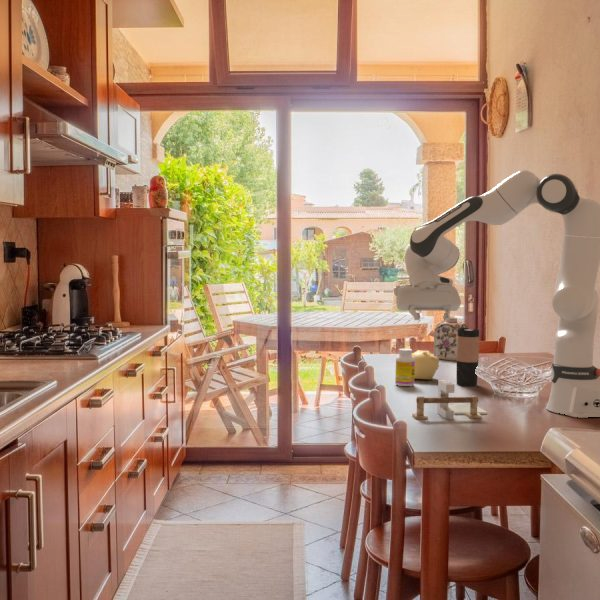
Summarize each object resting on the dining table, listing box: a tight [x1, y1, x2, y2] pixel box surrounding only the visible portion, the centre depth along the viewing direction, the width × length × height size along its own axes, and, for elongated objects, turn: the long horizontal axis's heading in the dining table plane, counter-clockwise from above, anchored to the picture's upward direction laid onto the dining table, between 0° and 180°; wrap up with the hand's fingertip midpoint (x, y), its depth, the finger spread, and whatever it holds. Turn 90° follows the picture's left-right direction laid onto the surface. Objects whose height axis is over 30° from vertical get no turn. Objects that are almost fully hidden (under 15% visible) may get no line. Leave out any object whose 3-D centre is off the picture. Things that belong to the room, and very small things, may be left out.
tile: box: [448, 404, 488, 416], centre depth 220 cm, size 10×10×1 cm
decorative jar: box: [433, 316, 468, 362], centre depth 321 cm, size 12×12×18 cm
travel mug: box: [456, 327, 480, 387], centre depth 260 cm, size 8×8×20 cm
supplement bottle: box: [394, 348, 415, 387], centre depth 258 cm, size 7×7×13 cm
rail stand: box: [411, 395, 483, 420], centre depth 211 cm, size 20×4×6 cm, turn 97°
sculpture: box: [412, 349, 440, 381], centre depth 271 cm, size 12×12×11 cm
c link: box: [437, 379, 456, 420], centre depth 212 cm, size 2×7×10 cm, turn 7°
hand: (432, 319), depth 225 cm, fingers open, 8 cm apart
